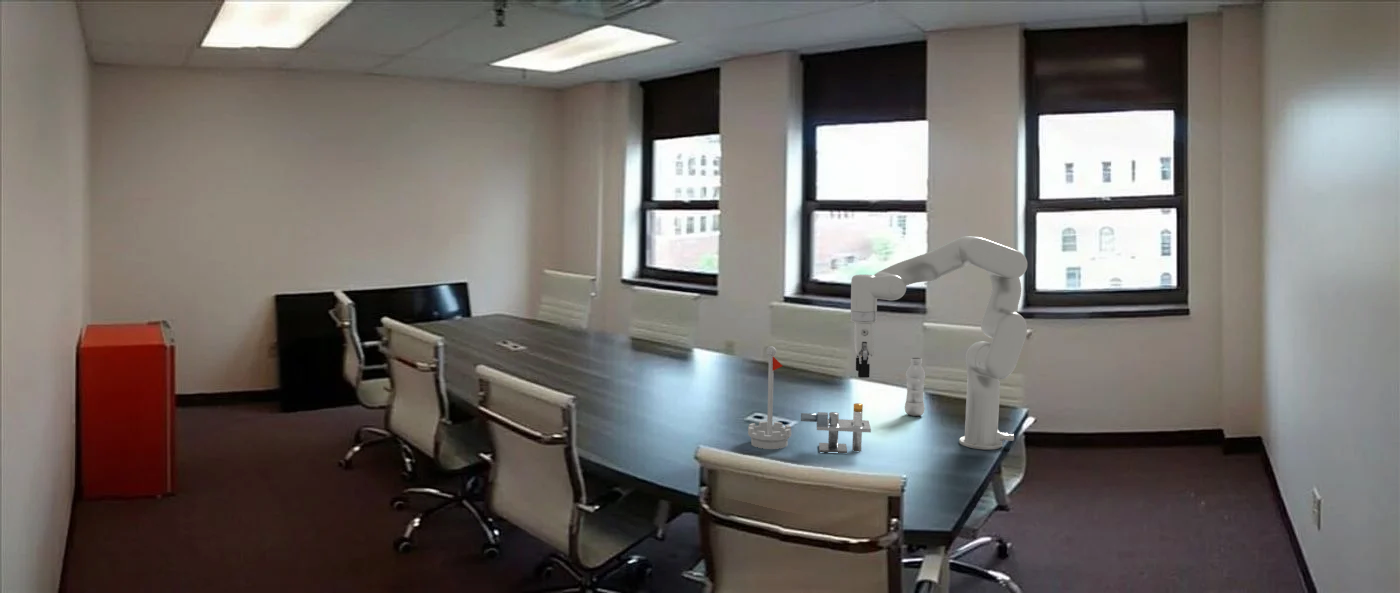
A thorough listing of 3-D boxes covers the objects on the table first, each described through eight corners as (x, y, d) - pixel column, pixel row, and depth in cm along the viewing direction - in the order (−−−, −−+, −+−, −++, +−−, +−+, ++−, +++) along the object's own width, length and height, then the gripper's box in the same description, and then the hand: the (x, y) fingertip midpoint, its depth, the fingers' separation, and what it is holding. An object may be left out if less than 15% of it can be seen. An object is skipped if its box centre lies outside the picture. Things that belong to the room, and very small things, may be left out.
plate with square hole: (867, 446, 268) (868, 410, 267) (869, 456, 259) (871, 418, 257) (800, 443, 271) (801, 408, 270) (799, 452, 261) (800, 416, 260)
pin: (860, 449, 265) (862, 403, 264) (861, 452, 263) (862, 405, 261) (852, 449, 265) (853, 403, 264) (852, 451, 263) (853, 405, 261)
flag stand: (739, 442, 271) (740, 345, 268) (771, 436, 279) (773, 341, 276) (767, 452, 261) (769, 351, 258) (799, 445, 269) (802, 347, 265)
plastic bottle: (926, 417, 304) (928, 360, 302) (906, 417, 305) (908, 359, 302) (921, 413, 311) (924, 356, 309) (902, 413, 311) (904, 356, 309)
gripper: (879, 321, 253) (878, 380, 255) (873, 313, 270) (872, 368, 272) (852, 320, 254) (851, 379, 256) (848, 312, 271) (847, 368, 273)
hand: (862, 374), depth 264 cm, fingers open, 9 cm apart
